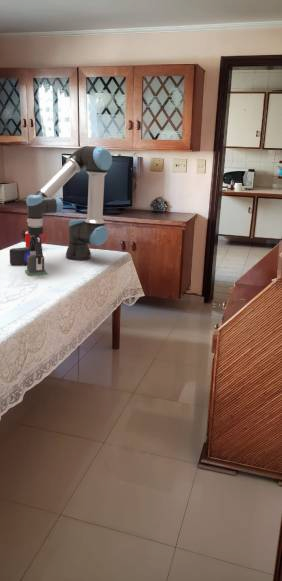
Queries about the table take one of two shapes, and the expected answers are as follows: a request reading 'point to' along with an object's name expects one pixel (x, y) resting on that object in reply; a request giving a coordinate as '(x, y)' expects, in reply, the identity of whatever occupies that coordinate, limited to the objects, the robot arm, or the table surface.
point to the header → (36, 273)
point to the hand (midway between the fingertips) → (36, 266)
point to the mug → (27, 237)
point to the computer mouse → (19, 256)
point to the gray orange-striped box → (33, 264)
